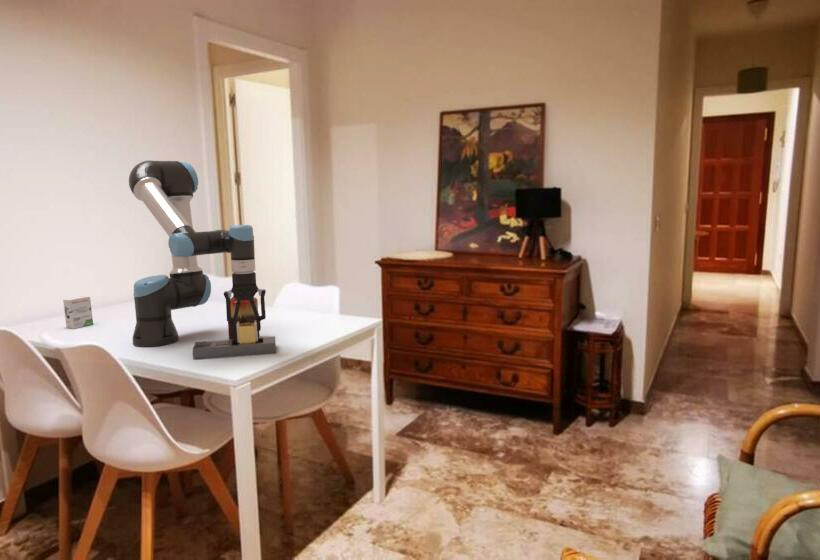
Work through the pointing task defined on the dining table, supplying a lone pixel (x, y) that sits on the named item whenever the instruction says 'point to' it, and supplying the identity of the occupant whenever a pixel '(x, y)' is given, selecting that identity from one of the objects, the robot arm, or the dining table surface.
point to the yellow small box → (247, 333)
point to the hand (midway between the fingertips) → (247, 340)
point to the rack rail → (233, 348)
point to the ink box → (78, 312)
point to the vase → (241, 314)
